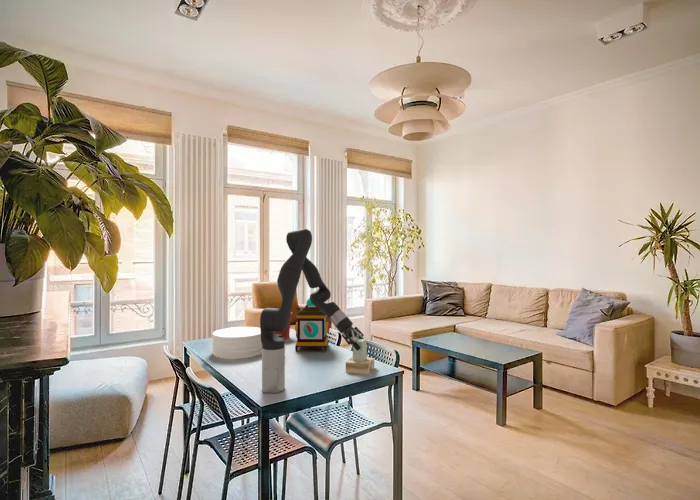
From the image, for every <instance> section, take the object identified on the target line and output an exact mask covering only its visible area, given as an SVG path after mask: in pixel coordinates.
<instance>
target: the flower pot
mask: <svg viewBox="0 0 700 500" xmlns="http://www.w3.org/2000/svg"><path fill="white" fill-rule="evenodd" d="M292 316H293V312H292V311H291V314H290V319H289V323H288V326H287V328H286V329H285V330H284V331H274V333H275V334H281V335H282V339H284V340H286V339H288V338H290V331H291V330H290V329H291V320H292Z"/></svg>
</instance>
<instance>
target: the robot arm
mask: <svg viewBox="0 0 700 500" xmlns="http://www.w3.org/2000/svg"><path fill="white" fill-rule="evenodd" d="M285 238H286V239H285V240H286V244H287V246H288V248H289V250H290V252H291V256H289V258H288V259H287V260H285V262H284V263H283V265H282V266H281V267H280V270H279V273H278V277H277V287H278V289H279V292H280V296H281V298H282V299H281V304H280V307H279V308H276V307H275V308H273V307H265V308H264V309H262V311H261V312H260V313H261V314H260V317H259V326H260V327H259V328H260V331H261V343H262V354H261V390H262V393H271V394H278V393H280V392H282V391H284V390H285V387H286V383H285V382H286V377H285V376H286V375H285V374H286V373H285V371H286V370H285V369H286V341H285V339H284V338H283V339H282V338H280V337H278V336H277V335H276V334H275V333H274V331H284V330H285V329H286V328H287V326H288V323H289V319H290V314H291V312H292V308H293V304H294V298H295V296H296V291H297V288H298V284H299V283H300V279H301V275H302V273H303V275H304V278H305V280H306V283H307V285H308V287H309V289H316V288H318V289H316V290H315V291H313V292H312V293H311V294H310V295H309V298H310V300H311V302H312V304H313V305H315V306H316V307H318V308H319V309H320V310H322V311H323V312H324V313H325V314H326V317H327V318H328V319H329V320H330V321H331V324H333V326H335V328H336V330H338V332H339V333H340V334H341V337H342V338H343V339H344V340H345V342H346V343H347V345H348V346H352V347H353V346H354V348H355V349H356V350H357V351H358V350H359V349H360V348H361V347H360V346H359V345H358V344H357V342H355V339H365V338H364V336H365V335H364V333H363V332H362V331H361V330H360V329H359V328H358V326H355V327H353V324H354V323H353V322H352V320H351V319H350V318H349V317H348V315H347V314H346V313H345V311H343V310H342V309H341V308H340V307H339V306H338V305H337V303H336V302H334V301H331V302H328V303H326V302H327V301H328V300H329V299H330V298H331V296H332V295H331V291H330V289H329V288H328V287H327V286H326V284H325V283H324V281H323V279H322V278H321V275H320V271H319V270H318V267H317V266H316V265H315V264H314V263H313V262H312V261H311V260H309V258H308V257H307V256H308V254H309V251H310V249H311V246H312V242H313V235H312V232H311V231H310V230H309V229H307V228H301V229H296V230H291V231H289V232H287V234H286V237H285ZM367 345H368V342H367Z"/></svg>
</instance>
